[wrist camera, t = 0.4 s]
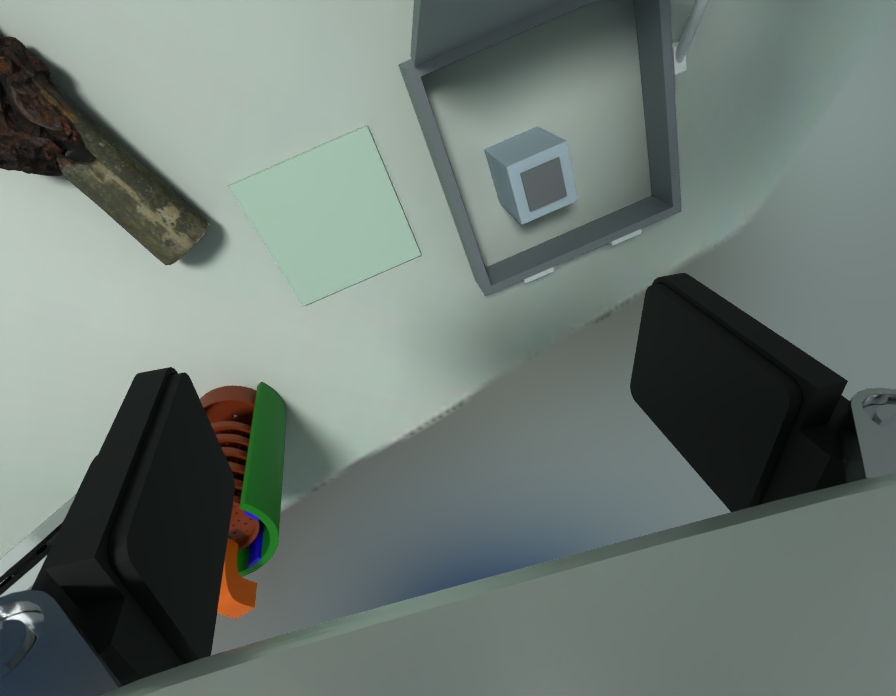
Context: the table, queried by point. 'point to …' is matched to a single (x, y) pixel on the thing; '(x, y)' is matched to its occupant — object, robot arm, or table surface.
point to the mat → (328, 216)
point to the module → (532, 174)
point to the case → (661, 131)
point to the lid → (463, 22)
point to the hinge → (30, 554)
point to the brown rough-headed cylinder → (86, 157)
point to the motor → (249, 483)
